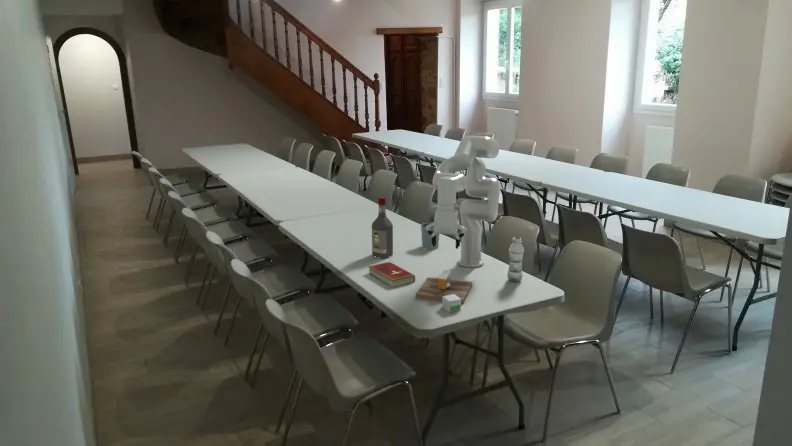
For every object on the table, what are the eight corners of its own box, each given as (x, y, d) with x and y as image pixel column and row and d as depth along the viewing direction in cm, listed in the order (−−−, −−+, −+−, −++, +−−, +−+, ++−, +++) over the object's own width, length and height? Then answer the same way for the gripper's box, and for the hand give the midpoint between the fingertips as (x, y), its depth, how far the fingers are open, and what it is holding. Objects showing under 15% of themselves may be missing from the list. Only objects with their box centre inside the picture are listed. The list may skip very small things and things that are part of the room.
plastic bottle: (512, 277, 266) (514, 234, 261) (525, 280, 262) (527, 238, 256) (504, 280, 262) (506, 237, 257) (516, 284, 257) (519, 241, 252)
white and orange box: (442, 282, 254) (442, 269, 252) (452, 283, 253) (452, 270, 251) (436, 291, 244) (436, 278, 242) (446, 292, 243) (447, 279, 241)
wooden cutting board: (427, 281, 261) (427, 276, 261) (472, 286, 256) (472, 281, 255) (415, 298, 243) (415, 293, 243) (463, 303, 237) (463, 299, 237)
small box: (448, 312, 230) (449, 301, 228) (441, 307, 235) (441, 295, 233) (461, 310, 232) (461, 298, 231) (453, 304, 237) (454, 293, 236)
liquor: (380, 251, 302) (380, 194, 294) (395, 254, 297) (394, 197, 289) (369, 256, 295) (368, 198, 287) (384, 259, 290) (383, 200, 282)
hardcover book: (389, 269, 278) (389, 260, 277) (415, 282, 261) (415, 274, 260) (368, 274, 272) (368, 265, 271) (392, 288, 255) (392, 279, 254)
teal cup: (419, 249, 306) (419, 227, 302) (422, 243, 315) (422, 221, 312) (439, 250, 304) (439, 227, 301) (440, 244, 314) (441, 222, 310)
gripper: (469, 206, 240) (467, 246, 245) (428, 203, 245) (427, 242, 250) (465, 210, 233) (464, 251, 238) (423, 207, 238) (423, 247, 243)
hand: (445, 246), depth 244 cm, fingers open, 9 cm apart
